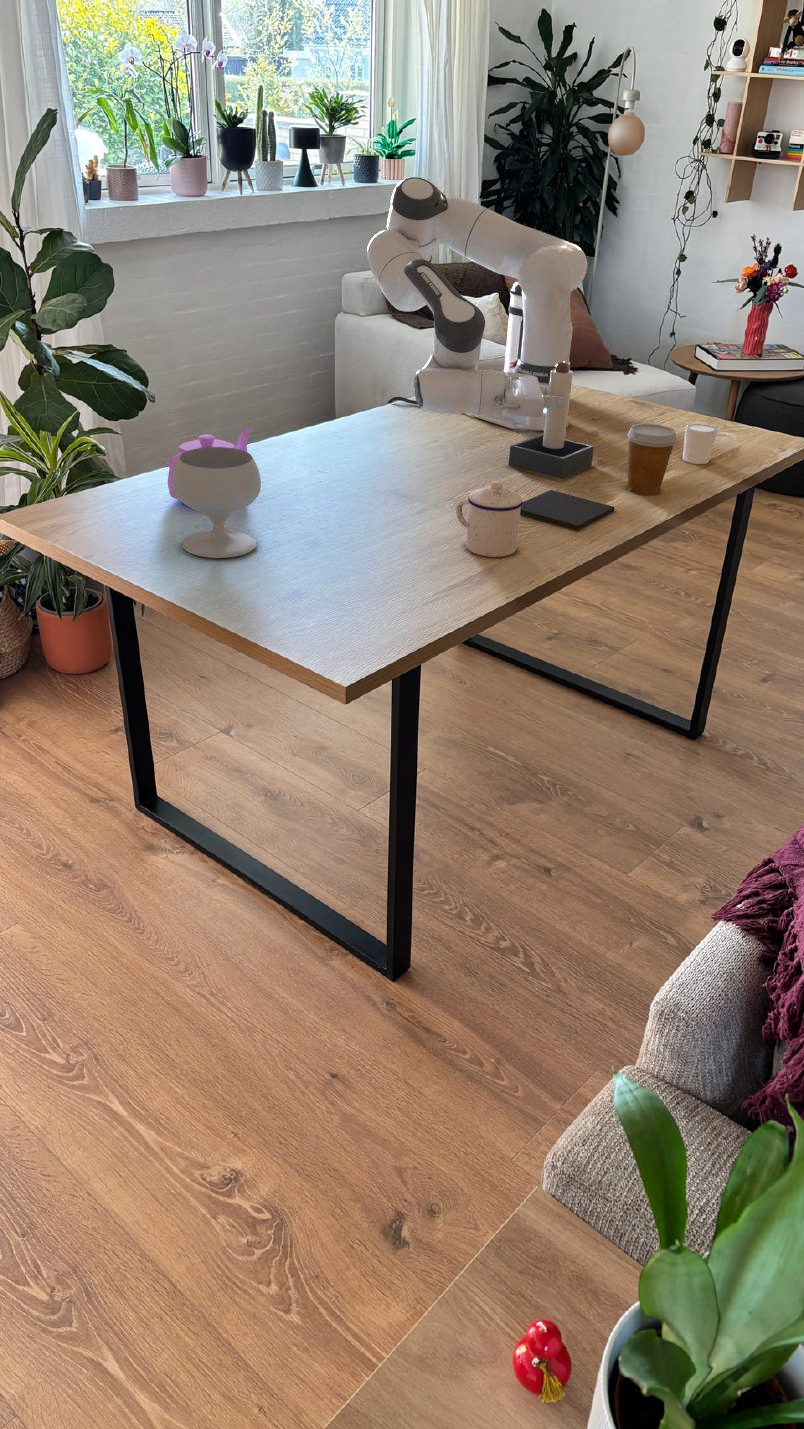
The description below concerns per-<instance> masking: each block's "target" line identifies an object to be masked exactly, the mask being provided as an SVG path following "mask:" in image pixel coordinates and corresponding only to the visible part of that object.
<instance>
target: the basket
mask: <svg viewBox="0 0 804 1429" xmlns="http://www.w3.org/2000/svg"><path fill="white" fill-rule="evenodd" d="M543 436H544V433H541V434H538V435H535V436H532V437H530V438H527V439H525V440H522V441H519V442H517V443H514V444H511V445H510V446H509V454H508V466H511V467H514V468H518V469H522V470H525V471H530V472H533V473H537V474H540V475H541V474H542V475H545V476H549V477H554V478H557V479H561V480H562V479H564V478H566V477H568V476H570V475H572V474H576V473H578V472H579V471H582V470H584V469H586V468H588V467H591V466H592V465H593V459H594V458H593V456H594V450H595V446H594V445H590V444H587V443H582V442H579V441H574V440H571V439H566V438H565V442H564V447H563V448H560V449H552V448H547V447H544V446H543Z"/></svg>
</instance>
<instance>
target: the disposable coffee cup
mask: <svg viewBox="0 0 804 1429" xmlns="http://www.w3.org/2000/svg"><path fill="white" fill-rule="evenodd" d="M626 435H627V440H628V459H627V460H628V463H627V487H628V489H630V491H629V492H632V493H635V494H638V495H647V496H652V495H657V494H659V493H660V491H661V487H662V484H663V481H664V478H665V473H666V471H667V469H668V468H667V467H668V464H669V461H670V458H671V454H672V452H673V447H674V445H675V444H676V442H678V437H677V432H676V430H675V429H673V428H672V427H669V426H665V425H661V424H655V423H637V424H633V425H632V426H631V427H630V428H629V431H628V432H627V434H626Z"/></svg>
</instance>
